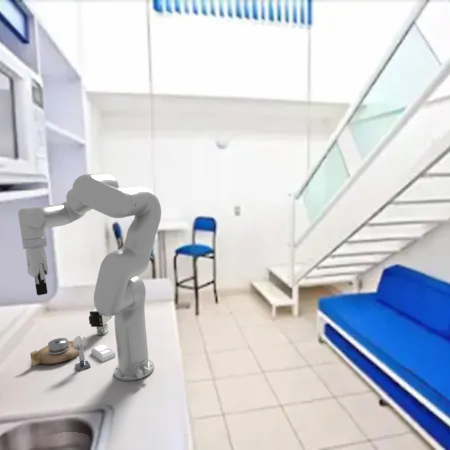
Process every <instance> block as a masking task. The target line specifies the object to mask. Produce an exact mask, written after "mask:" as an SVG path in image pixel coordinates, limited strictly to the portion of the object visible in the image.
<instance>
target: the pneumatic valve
mask: <svg viewBox="0 0 450 450" xmlns="http://www.w3.org/2000/svg"><path fill="white" fill-rule="evenodd" d="M111 319H112V316H110V317H106V316H103V315H101V314H100V313H99V312H98V311H97V310H96V308H95V307H92V309H91V310H90V311H89V316H88V321H89V323H88V324H89V325H90V327H91V328H93V327H94V328H96V335H98V336H99V335H103V336H105V335H106V334H108V332H109V329H108V322H109V321H110V320H111Z"/></svg>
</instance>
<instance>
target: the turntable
mask: <svg viewBox="0 0 450 450" xmlns="http://www.w3.org/2000/svg"><path fill="white" fill-rule="evenodd" d="M73 341H74V340H68V346H69V350H68V351H67V352H65V353H63V354H60V355H50V354H49V352H48V350H49V347H48V345H46V346H43V347H42V348H41V349H39V350H34V351H32V352H30V355H29V356H30V361H31V365H33V366H36V365H39V364H42V365H45V364H46V365H49V364H50V365H51V364H58V363H62V362H66V361H68V360H71V359H73V358H75V357H77V355H79V351H78V350H77V349H75V348H74V346H73Z"/></svg>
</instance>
